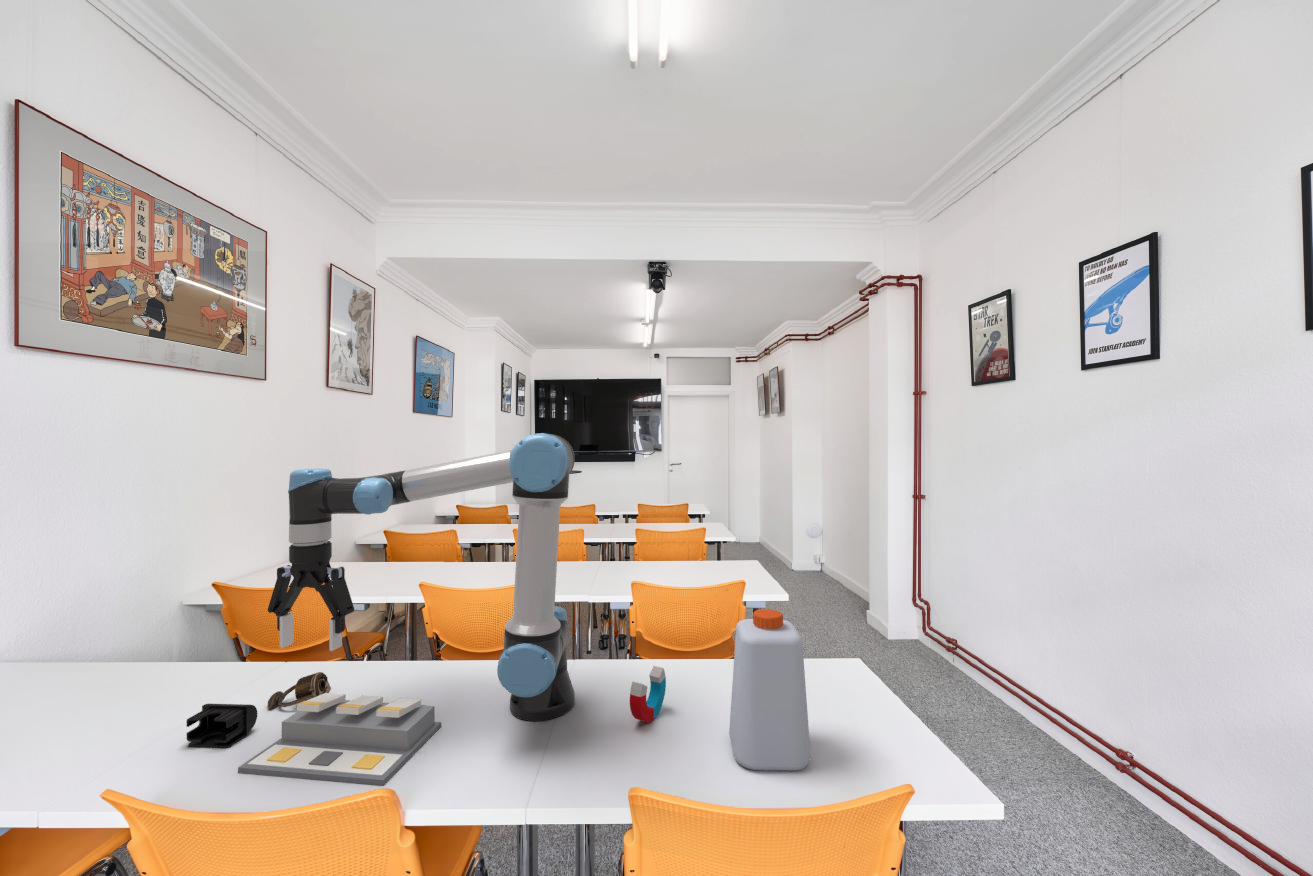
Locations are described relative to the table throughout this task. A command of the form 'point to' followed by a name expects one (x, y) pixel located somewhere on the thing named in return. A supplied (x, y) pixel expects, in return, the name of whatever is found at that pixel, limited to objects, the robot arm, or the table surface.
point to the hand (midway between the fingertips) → (311, 647)
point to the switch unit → (345, 745)
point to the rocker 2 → (398, 707)
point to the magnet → (652, 706)
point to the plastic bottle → (769, 695)
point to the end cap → (221, 725)
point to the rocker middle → (359, 705)
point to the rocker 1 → (321, 702)
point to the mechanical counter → (302, 690)
